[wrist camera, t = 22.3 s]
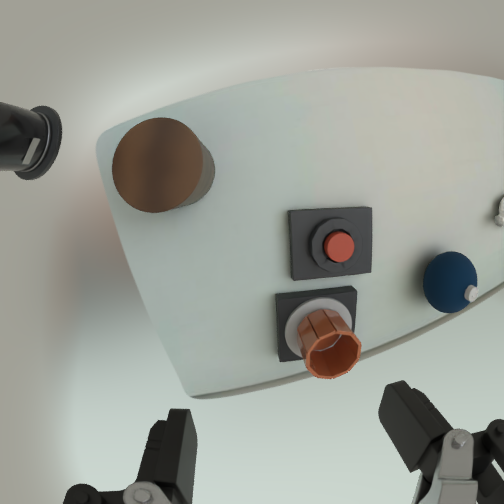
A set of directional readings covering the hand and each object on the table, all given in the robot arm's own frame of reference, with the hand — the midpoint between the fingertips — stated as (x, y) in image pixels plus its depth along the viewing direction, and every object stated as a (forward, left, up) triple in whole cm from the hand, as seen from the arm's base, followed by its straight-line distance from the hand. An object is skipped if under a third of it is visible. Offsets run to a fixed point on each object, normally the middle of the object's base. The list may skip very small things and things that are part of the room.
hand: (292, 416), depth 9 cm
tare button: (+9, +2, -22) cm, 23 cm away
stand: (-8, +11, -24) cm, 28 cm away
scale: (+7, -9, -24) cm, 27 cm away
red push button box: (+9, +2, -24) cm, 26 cm away
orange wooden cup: (+7, -9, -22) cm, 24 cm away
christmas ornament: (+26, -4, -24) cm, 36 cm away
